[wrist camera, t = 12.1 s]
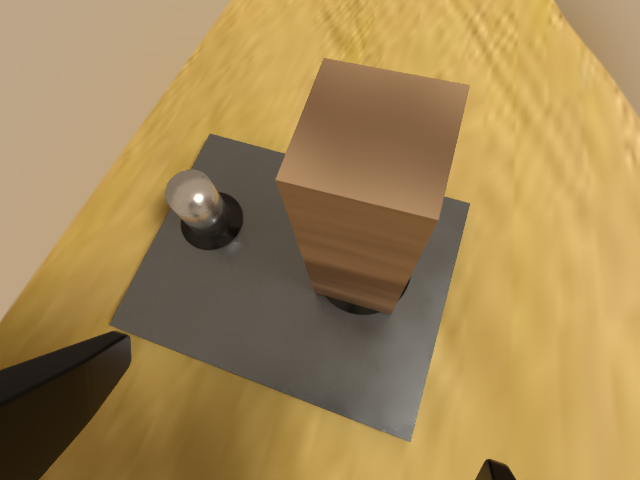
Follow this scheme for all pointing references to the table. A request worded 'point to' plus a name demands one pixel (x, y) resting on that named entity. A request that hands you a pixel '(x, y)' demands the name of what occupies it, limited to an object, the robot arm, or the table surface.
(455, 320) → the table surface
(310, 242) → the post
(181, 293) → the bolt plate
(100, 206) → the table surface
